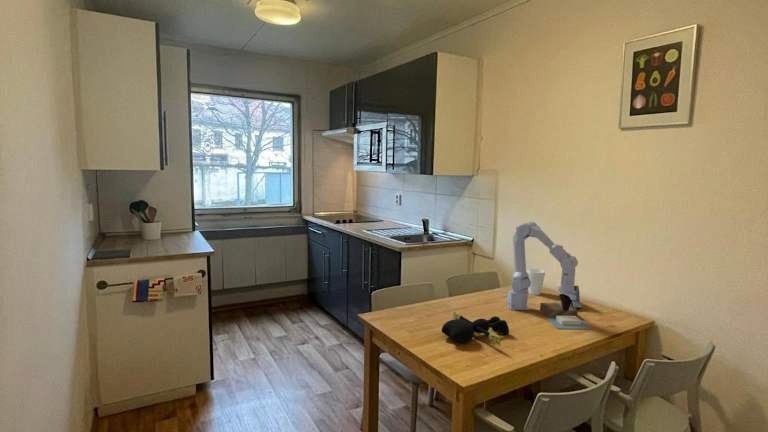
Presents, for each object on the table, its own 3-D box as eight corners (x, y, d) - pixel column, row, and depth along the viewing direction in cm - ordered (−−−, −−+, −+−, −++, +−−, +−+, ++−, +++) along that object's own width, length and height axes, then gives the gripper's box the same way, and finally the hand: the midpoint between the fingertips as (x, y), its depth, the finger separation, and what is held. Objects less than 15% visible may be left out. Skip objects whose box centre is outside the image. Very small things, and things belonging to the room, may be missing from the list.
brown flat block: (547, 317, 205) (548, 309, 204) (539, 310, 215) (540, 302, 214) (576, 318, 205) (577, 310, 205) (567, 311, 215) (568, 303, 214)
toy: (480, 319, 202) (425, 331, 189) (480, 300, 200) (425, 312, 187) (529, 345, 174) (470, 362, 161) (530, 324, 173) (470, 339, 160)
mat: (557, 328, 191) (557, 328, 191) (546, 318, 204) (546, 317, 204) (593, 329, 192) (593, 328, 192) (579, 318, 205) (579, 318, 205)
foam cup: (525, 289, 249) (527, 268, 248) (542, 291, 247) (544, 269, 245) (526, 294, 240) (528, 272, 239) (544, 296, 238) (545, 273, 236)
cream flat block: (556, 315, 202) (555, 319, 202) (561, 320, 196) (561, 324, 196) (575, 315, 202) (574, 319, 202) (581, 320, 196) (580, 324, 196)
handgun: (567, 311, 233) (565, 289, 236) (582, 308, 215) (579, 284, 219) (560, 311, 233) (558, 289, 236) (575, 308, 215) (572, 284, 219)
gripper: (583, 286, 193) (581, 315, 195) (569, 277, 207) (567, 305, 209) (568, 286, 193) (565, 315, 194) (554, 277, 207) (552, 304, 209)
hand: (565, 310), depth 202 cm, fingers closed
